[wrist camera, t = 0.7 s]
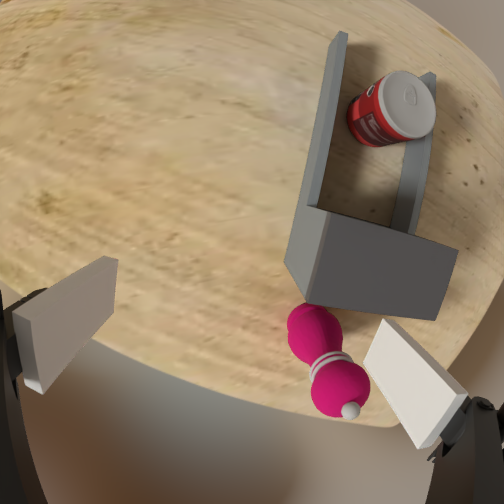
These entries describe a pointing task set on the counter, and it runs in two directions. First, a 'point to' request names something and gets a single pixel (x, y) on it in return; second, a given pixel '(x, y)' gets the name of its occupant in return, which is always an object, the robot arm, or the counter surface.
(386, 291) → the trap channel
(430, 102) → the canned food
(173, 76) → the counter surface
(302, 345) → the pepper mill
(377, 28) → the counter surface
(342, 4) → the counter surface
